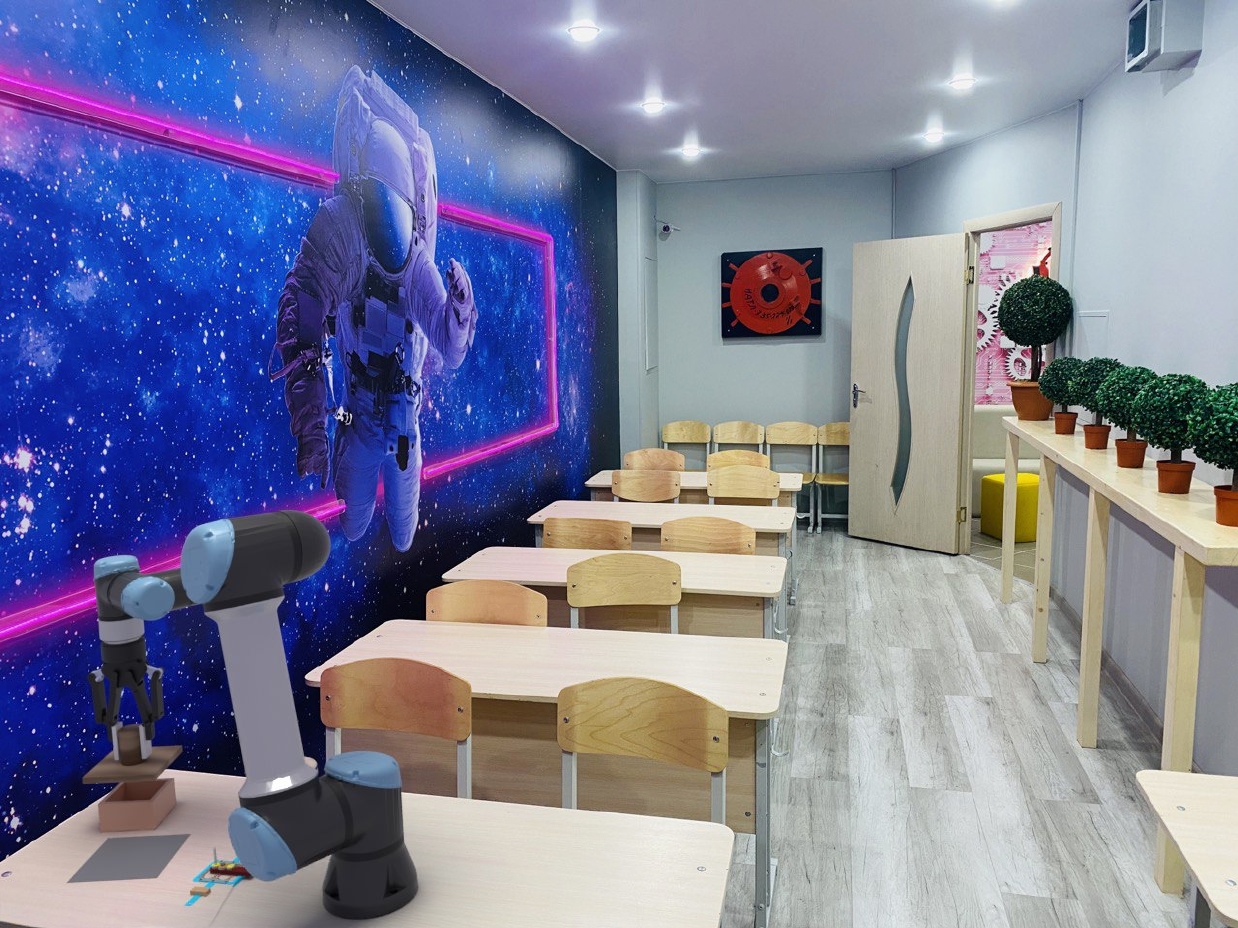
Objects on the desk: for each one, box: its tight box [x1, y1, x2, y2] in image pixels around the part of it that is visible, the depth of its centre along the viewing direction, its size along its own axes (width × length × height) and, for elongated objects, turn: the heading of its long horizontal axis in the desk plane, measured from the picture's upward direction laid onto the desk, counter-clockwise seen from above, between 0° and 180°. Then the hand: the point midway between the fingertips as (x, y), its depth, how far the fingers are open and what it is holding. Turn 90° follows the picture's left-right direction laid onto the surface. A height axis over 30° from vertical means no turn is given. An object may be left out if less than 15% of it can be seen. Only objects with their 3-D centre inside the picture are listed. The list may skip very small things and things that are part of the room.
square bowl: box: [97, 777, 177, 833], centre depth 186 cm, size 10×10×6 cm
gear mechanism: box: [184, 846, 252, 907], centre depth 166 cm, size 20×5×9 cm
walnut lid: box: [82, 723, 183, 785], centre depth 185 cm, size 13×13×8 cm
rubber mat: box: [66, 833, 191, 884], centre depth 172 cm, size 15×15×1 cm
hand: (133, 756), depth 185 cm, fingers closed on walnut lid, 4 cm apart
